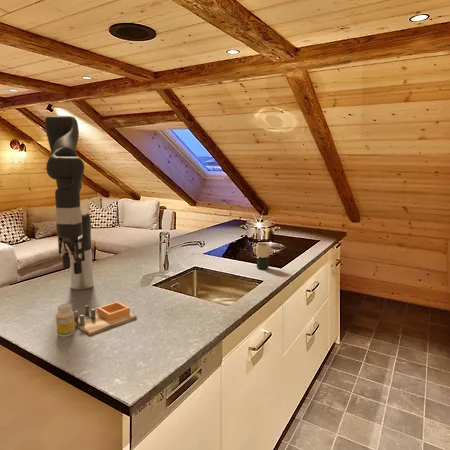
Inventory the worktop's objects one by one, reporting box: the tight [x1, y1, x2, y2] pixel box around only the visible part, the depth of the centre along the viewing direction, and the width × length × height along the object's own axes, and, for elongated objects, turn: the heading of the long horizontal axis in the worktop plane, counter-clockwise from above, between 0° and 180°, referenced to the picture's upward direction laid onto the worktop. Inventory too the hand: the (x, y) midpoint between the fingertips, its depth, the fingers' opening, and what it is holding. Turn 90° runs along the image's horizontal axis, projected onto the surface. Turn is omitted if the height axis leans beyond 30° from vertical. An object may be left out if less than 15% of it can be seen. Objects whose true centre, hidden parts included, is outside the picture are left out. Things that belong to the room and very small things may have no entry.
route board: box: [74, 309, 138, 336], centre depth 130 cm, size 14×18×1 cm
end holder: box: [96, 301, 131, 321], centre depth 133 cm, size 8×8×2 cm
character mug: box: [252, 242, 274, 270], centre depth 193 cm, size 11×7×13 cm, turn 64°
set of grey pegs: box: [73, 304, 96, 326], centre depth 128 cm, size 7×6×4 cm
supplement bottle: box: [55, 303, 76, 338], centre depth 120 cm, size 5×5×10 cm
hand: (72, 270), depth 118 cm, fingers open, 8 cm apart
